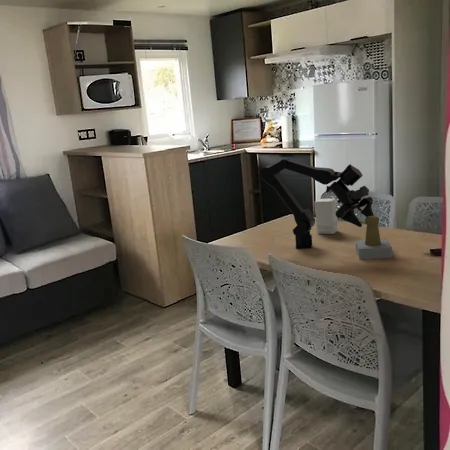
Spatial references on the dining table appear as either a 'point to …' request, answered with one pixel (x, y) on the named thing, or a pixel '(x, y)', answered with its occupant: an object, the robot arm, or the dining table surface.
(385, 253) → the podium
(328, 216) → the skincare box
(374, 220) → the cork
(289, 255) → the dining table surface
